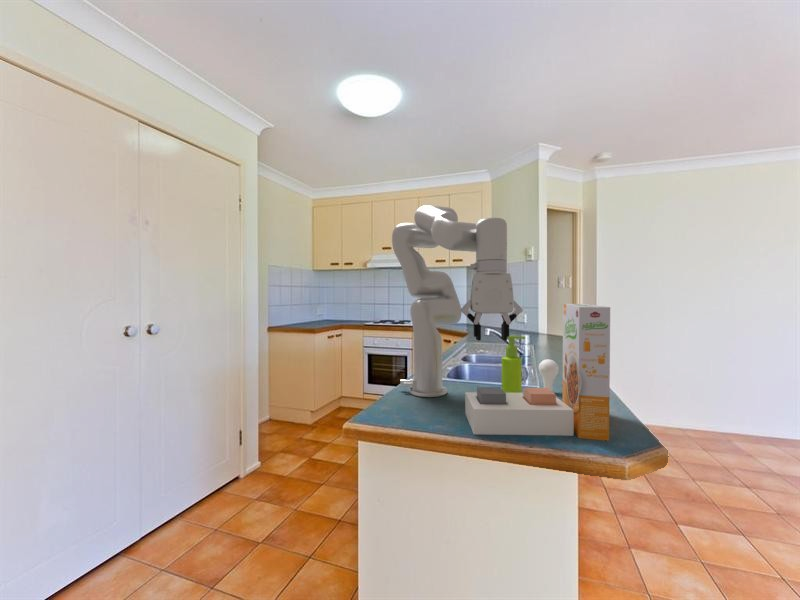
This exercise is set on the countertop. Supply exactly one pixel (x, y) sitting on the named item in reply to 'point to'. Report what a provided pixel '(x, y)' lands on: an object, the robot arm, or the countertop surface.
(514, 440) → the countertop surface
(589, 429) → the cereal box
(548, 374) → the lightbulb
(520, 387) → the soap dispenser
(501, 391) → the key charcoal
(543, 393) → the key terracotta
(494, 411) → the key panel
